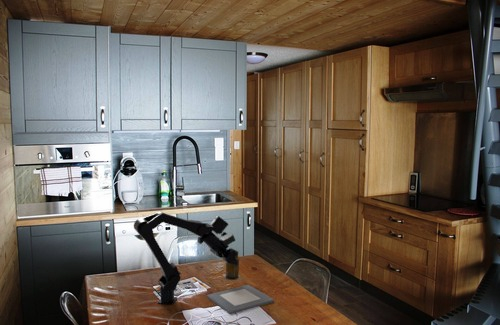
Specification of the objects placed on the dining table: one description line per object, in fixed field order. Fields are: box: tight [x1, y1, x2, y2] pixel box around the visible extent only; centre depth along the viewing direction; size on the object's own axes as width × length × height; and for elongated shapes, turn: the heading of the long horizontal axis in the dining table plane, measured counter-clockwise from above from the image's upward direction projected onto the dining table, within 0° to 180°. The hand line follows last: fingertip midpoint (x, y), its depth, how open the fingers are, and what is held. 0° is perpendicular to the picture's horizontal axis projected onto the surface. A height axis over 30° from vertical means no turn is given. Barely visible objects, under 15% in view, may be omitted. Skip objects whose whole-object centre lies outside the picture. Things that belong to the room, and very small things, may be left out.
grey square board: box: [206, 284, 275, 315], centre depth 181 cm, size 22×20×1 cm
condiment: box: [222, 249, 243, 282], centre depth 192 cm, size 7×8×12 cm
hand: (234, 262), depth 193 cm, fingers closed on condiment, 6 cm apart
